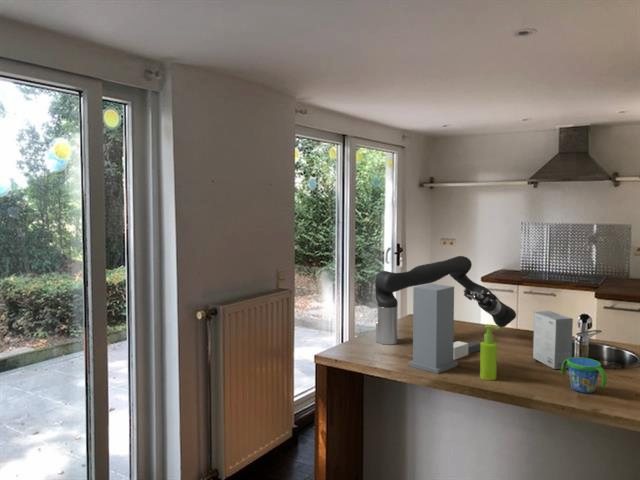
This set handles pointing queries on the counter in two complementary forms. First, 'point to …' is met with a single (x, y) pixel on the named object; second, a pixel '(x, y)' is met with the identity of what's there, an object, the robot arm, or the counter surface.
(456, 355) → the block
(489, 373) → the soap dispenser
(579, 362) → the snack cup
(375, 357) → the counter surface
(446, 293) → the grey rectangular pillar
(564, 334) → the hard drive box
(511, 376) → the counter surface
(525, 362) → the counter surface
